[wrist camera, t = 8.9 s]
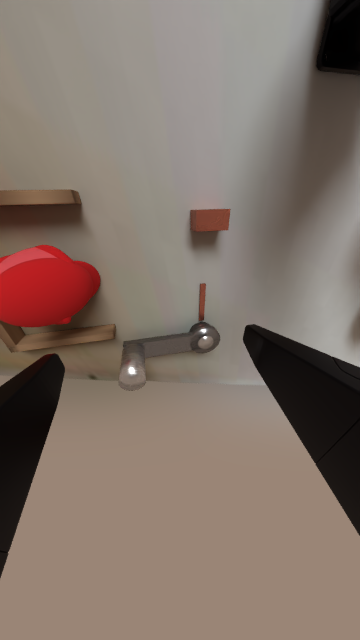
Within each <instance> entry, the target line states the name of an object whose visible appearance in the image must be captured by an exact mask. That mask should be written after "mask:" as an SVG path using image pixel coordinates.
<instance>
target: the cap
mask: <svg viewBox="0 0 360 640" xmlns="http://www.w3.org/2000/svg"><path fill="white" fill-rule="evenodd" d="M99 286H100V276H99V273H98V271H97V270H96V269H95V268H94V267H93V266H92V265H90V264H88V263H85V262H82V261H73V260H72V259H71V258H69V257H68V256H67V255H66V254H65V253H63V252H62V251H61V250H59V249H57V248H55V247H53V246H48V245H39V246H36V247H34V248H28V249H25V250H22V251H19V252H17V253H14V254H12V255H9V256H5V257H2V258H0V320H1V321H3V322H5V323H8V324H11V325H15V326H21V327H41V326H47V325H51V324H67V323H69V322H70V321H71V316H73V315H74V314H76V313H77V312H79V311H80V310H81V309H82V308H83V307H84V306H85V305H86V304H87V302H88V301H89V299H90V298H91V297H92V296H93V295H94V294H95V293H96V292H97V290H98V288H99Z"/></svg>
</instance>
